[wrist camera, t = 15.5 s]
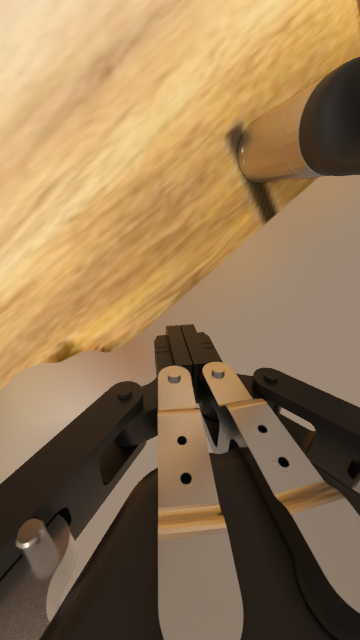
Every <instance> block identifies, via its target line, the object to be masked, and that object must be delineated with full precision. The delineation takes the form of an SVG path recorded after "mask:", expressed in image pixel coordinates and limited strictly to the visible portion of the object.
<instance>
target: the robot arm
mask: <svg viewBox="0 0 360 640" xmlns="http://www.w3.org/2000/svg"><path fill="white" fill-rule="evenodd" d="M238 163H239V167H240V169H241V171H242V173H243V175H244V176H245V177H246V178H247V179H249V180H250V181H252V182H255V183H267V182H277V181H286V180H295V179H303V178H312V177H320V176H331V175H332V176H346V175H360V57H358V58H355V59H352V60H351V61H349V62H347V63H345V64H343V65H342V66H340V67H338V68H337V69H335V70H334V71H332V72H331V73H329V74H328V75H326V76H325V77H323V78H322V79H320V80H318V81H317V82H315V83H314V84H312V85H311V86H309V87H308V88H306V89H304V90H303V91H301V92H300V93H298V94H297V95H295V96H293V97H292V98H290V99H289V100H287V101H286V102H284V103H282V104H281V105H279V106H278V107H276V108H274V109H273V110H271V111H270V112H268V113H266V114H265V115H263V116H262V117H260V118H259V119H257V120H255V121H254V122H253V123H252V124H250V125H249V126H248V128H247V129H246V130H245V132H244V133H243V135H242V137H241V140H240V143H239V147H238ZM154 347H155V364H156V373H157V377H156V379H155V380H154V381H152V382H151V383H149V384H147V385H145V386H142V387H141V386H140V385H139V384H137V383H135V382H131V381H126V382H120V383H117V384H115V385H114V386H112V387H111V388H110V389H109V390H108V391H107V392H105V393H104V394H103V395H102V396H101V397H100V398H98V399H97V400H96V401H95V402H94V403H93V404H92V405H90V406H89V407H88V408H87V409H86V410H85V411H84V412H82V413H81V414H80V415H79V416H78V417H77V418H76V419H74V420H73V421H72V422H71V423H70V424H69V425H68V426H66V427H65V428H64V429H63V430H62V431H61V432H60V433H59V434H57V435H56V436H55V437H54V438H53V439H52V440H50V441H49V442H48V443H47V444H46V445H45V446H43V447H42V448H41V449H40V450H39V451H38V452H37V453H35V454H34V455H33V456H32V457H31V458H30V459H29V460H28V461H26V462H25V463H24V464H23V465H22V466H21V467H20V468H19V469H17V470H16V471H15V472H14V473H13V474H12V475H10V476H9V477H8V478H7V479H6V480H5V481H3V482H2V483H1V484H0V640H360V408H359V407H357V406H355V405H353V404H350V403H348V402H346V401H344V400H342V399H339V398H337V397H334V396H333V395H331V394H328V393H326V392H324V391H322V390H320V389H317V388H315V387H313V386H311V385H308V384H306V383H304V382H302V381H299V380H297V379H295V378H293V377H291V376H288V375H286V374H284V373H282V372H280V371H278V370H275V369H272V368H260V369H257V370H256V371H255V372H254V375H253V376H247V375H240V374H236V373H235V372H234V370H233V369H232V368H231V367H230V366H229V365H227V364H224V363H223V362H222V360H221V358H220V356H219V355H218V353H217V351H216V349H215V347H214V345H213V343H212V341H211V339H210V337H209V336H208V335H206V334H205V333H203V332H201V333H197V332H196V329H195V327H194V325H193V324H191V325H180V326H179V325H176V326H166V335H162V336H157V337H156V339H155V341H154ZM196 403H199V406H200V409H199V408H197V407H196ZM281 407H282V408H284V409H286V410H288V411H290V412H292V413H293V414H295V415H297V416H299V417H301V418H303V419H305V420H306V421H308V422H310V423H311V424H312V425H313V426H314V427H315V429H316V431H311V430H308V429H306V428H305V427H303V426H301V425H299V424H298V423H295V422H294V421H292V420H290V419H289V418H286V417H285V416H283V415H281V414H280V410H281ZM204 430H205V432H204ZM205 433H206V435H207V438H208V441H209V443H210V446H211V448H212V451H213V453H209V451H208V446H207V441H206V436H205ZM157 435H158V468H156V469H155V470H153V471H151V472H150V473H149V474H147V475H146V476H145V477H144V478H143V479H142V480H141V481H140V482H139V483H138V484H137V485H136V486H135V488H134V489H133V491H132V492H131V493H130V495H129V497H128V498H127V500H126V502H125V503H124V505H123V506H122V508H121V510H120V511H119V513H118V514H117V516H116V518H115V519H114V521H113V522H112V524H111V525H110V527H109V529H108V530H107V532H106V533H105V535H104V537H103V538H102V540H101V542H100V543H99V545H98V546H97V548H96V550H95V551H94V553H93V554H92V556H91V558H90V559H89V561H88V562H87V564H86V566H85V567H84V569H83V570H82V572H81V574H80V575H79V577H78V578H77V580H76V582H75V584H74V585H73V587H72V588H71V590H70V591H69V593H68V595H67V596H66V598H65V599H64V601H63V603H62V604H61V606H60V607H59V603H60V600H61V596H62V594H63V591H64V589H65V587H66V585H67V583H68V581H69V580H70V578H71V575H72V573H73V571H74V568H75V565H76V561H77V547H76V543H75V540H76V539H77V537H78V536H79V535H80V533H81V532H82V531H83V529H84V528H85V527H86V525H87V524H88V522H89V521H90V520H91V518H92V517H93V516H94V514H95V513H96V512H97V510H98V509H99V508H100V506H101V505H102V504H103V502H104V501H105V499H106V498H107V497H108V495H109V494H110V492H111V491H112V489H113V488H114V487H115V486H116V484H117V483H118V482H119V480H120V479H121V478H122V476H123V475H124V474H125V472H126V471H127V470H128V468H129V467H130V465H131V464H132V463H133V461H134V460H135V459H136V457H137V456H138V455H139V453H140V452H141V451H142V449H143V448H144V446H145V444H146V441H147V440H149V439H151V438H153V437H155V436H157ZM58 608H59V609H58Z"/></svg>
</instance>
